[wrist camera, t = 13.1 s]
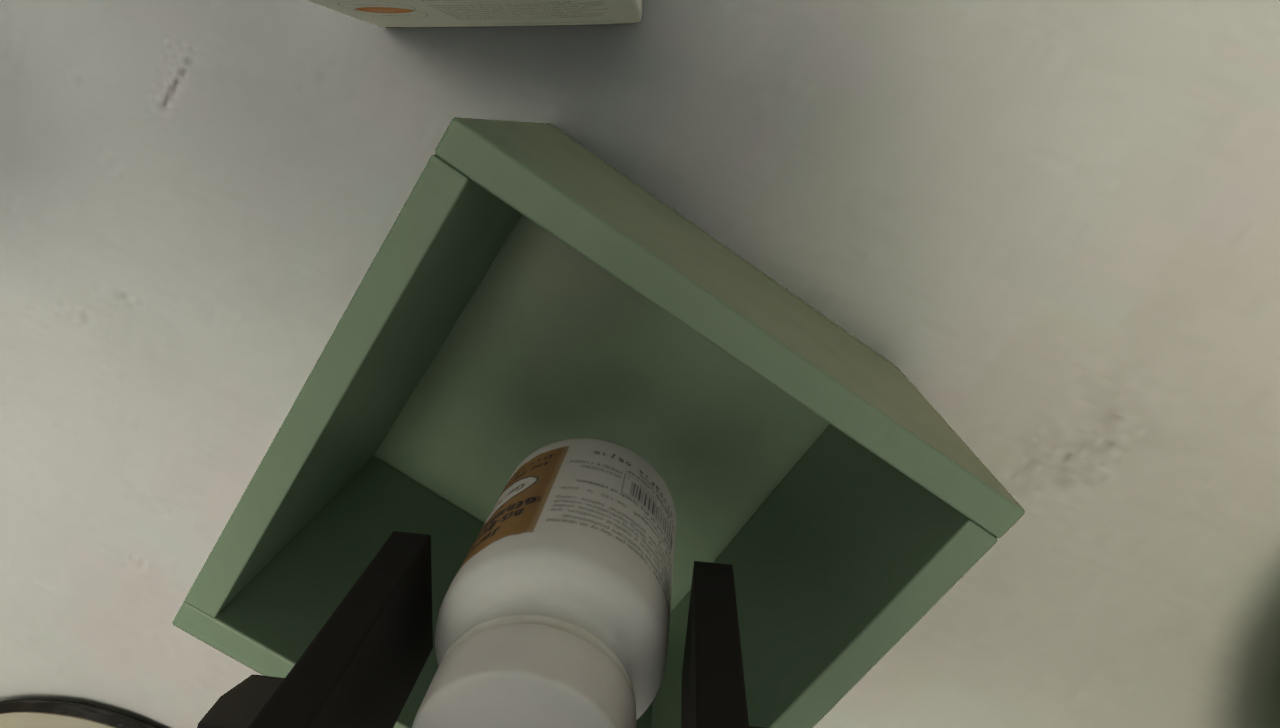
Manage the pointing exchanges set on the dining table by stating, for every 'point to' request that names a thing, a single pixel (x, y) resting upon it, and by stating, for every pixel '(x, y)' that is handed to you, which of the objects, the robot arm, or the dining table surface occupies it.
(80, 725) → the dog bowl
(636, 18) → the small box
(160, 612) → the dining table surface
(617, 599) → the pill bottle
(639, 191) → the bin
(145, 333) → the dining table surface
